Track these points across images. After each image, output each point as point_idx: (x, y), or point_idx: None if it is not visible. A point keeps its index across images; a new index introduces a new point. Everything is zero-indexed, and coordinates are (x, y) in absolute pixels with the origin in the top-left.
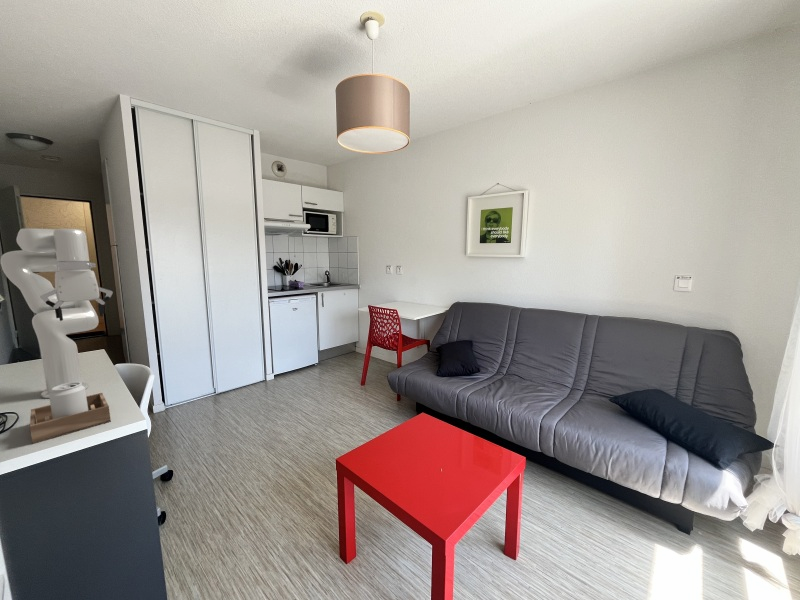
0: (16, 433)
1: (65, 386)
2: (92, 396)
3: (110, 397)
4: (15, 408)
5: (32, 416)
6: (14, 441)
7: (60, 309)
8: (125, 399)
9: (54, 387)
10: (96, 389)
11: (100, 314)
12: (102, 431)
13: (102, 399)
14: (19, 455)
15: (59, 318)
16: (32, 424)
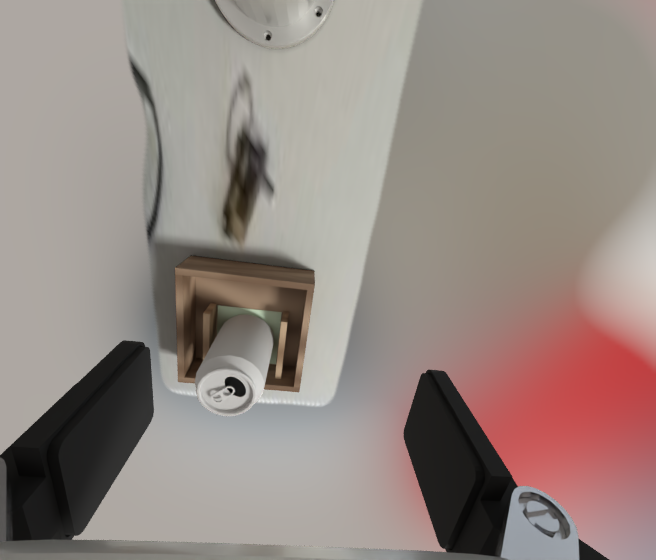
0: (165, 278)
1: (224, 390)
2: (293, 287)
3: (344, 207)
4: (145, 37)
5: (179, 326)
6: (166, 320)
7: (73, 535)
8: (360, 261)
9: (202, 382)
10: (344, 65)
11: (411, 447)
12: (280, 398)
13: (301, 339)
14: (177, 387)
15: (119, 352)
16: (181, 374)
